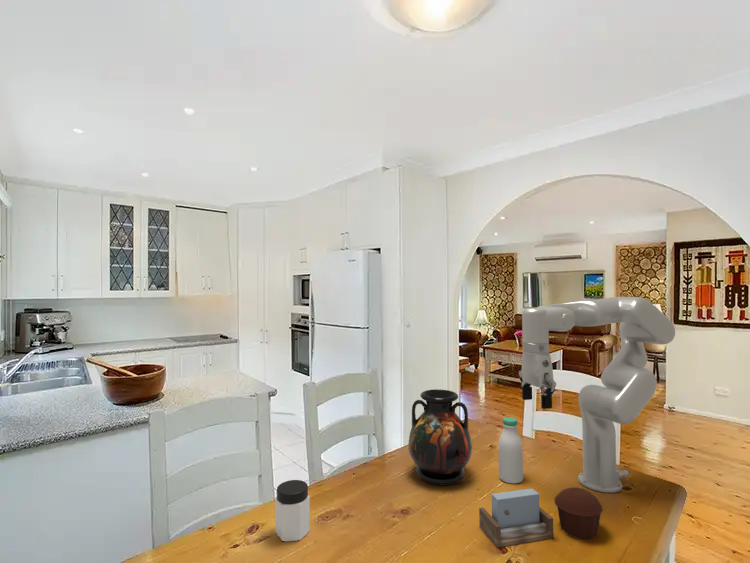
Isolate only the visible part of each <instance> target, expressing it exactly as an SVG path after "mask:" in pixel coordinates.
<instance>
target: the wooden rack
mask: <svg viewBox="0 0 750 563" xmlns="http://www.w3.org/2000/svg"><path fill="white" fill-rule="evenodd" d="M478 511H479V514H478V515H479V518H478V520H479V528H480V530H481V531H483V533H484V535H486V537H487V538H488V539H489V540H490V541H491V542H492V544H493V545H494V546H495V548H503V547H510V546H513V545H514V546H515V545H521V544H527V543H532V542H539V541H544V540H551V539H554V518H553V517H552V516H551V515H550V514H548V512H546V511H545V510H544V509H543V508H542V507H540V506H539V521H540V523H537V524H530V525H524V526H518V527H511V528H505V529H501V526H500V525H499V524H498V523H497V522H496V521H495V520H494V519H493V517H492V514H490V513H489V512H488V511H487V509H486V508H485V507H479V508H478Z"/></svg>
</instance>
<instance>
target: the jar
mask: <svg viewBox="0 0 750 563" xmlns="http://www.w3.org/2000/svg"><path fill="white" fill-rule="evenodd" d="M308 487H309V485H308V483H307V482H306V481H303V480H301V479H293V480H292V479H291V480H287V481H284V482H281V483H280V484H279V485H278V486H277V487H276V497H275V498H274V500H275V501H274V502H275V506H274V507H275V508H274V510H275V516H274V517H275V520H274V521H275V523H274V524H275V526H274V527H275V534H276V533H277V534H276V536H277V537H278V536H279V537H280V538H281V539H280V538H279V537H278V538H279V539H280V540H282V541H285V542H298V540H299V541H301V540H302V539H303V538H304V537H305V536H306V535H307V534H308V533H309V532H310V531H311V522H310V520H311V518H310V517H311V513H310V512H311V511H310V510H311V507H310V506H311V504H310V499H311V497H310V494H309V489H308ZM282 541H281V542H282Z"/></svg>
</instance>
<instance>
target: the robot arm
mask: <svg viewBox="0 0 750 563" xmlns="http://www.w3.org/2000/svg"><path fill="white" fill-rule="evenodd" d="M521 313H522V314H521V318H522V319H521V326H522V327H521V329H522V330H521V331H522V358H521V370H519V371H518V375H519V381H520V382H521V383H520V385H521V387H522V388H521V390H522V392H521V393H522V394H521V395H522V400H523V401H527V400H528V401H532V400H533V386H534V387H536V388H539V389H540V391H541V394H542V395H540V397H541V401H540V402H541V405H540V407H541V409H543V410H547V409H549V410H550V409H553V395H554V393H555V391H556V386H557V382H556V381H555V380H554V370H553V363H552V358H551V354H550V347H549V346H550V343H549V342H550V338H549V336H550V335H549V332H550V331H551V332H552V331H553V332H561V333H562V332H567V331H570V330H571V329H572V328H574V326H575V327H599V326H603V325H609V324H617V323H619V330H618V331H619V336H620V342H621V344H620V350H619V351H618V353H617V354H616V355H615V356H614V358H613V359H612V360H611V361H610V363H609V364H608V365H607V366H606V367H605V368H604V370H603V372H602V373H601V375H600V376H601V377H600V380H601V383H602V384H603V386H602V385H599V384H589V385H585V386H583V387H582V388H581V389H580V391H579V393H578V405H579V409H580V414H581V422H582V426H581V427H582V471H583V472H579V474H578V475H577V481H578V482H579V483H580V484H581V485H582V486H584V487H585V488H588V489H590V490H593V491H597V492H599V493H609V494H612V493H618V492H620V491H622V490H623V483H622V481H621V480H620V479H622V478H625V477H627V478H628V477H629V476H630V473H629V471H628V470H627V469H624V470H620V469H619V468H617V447H616V446H617V443H616V442H617V436H616V435H617V432H616V427H615V423H616V424H619V425H628V424H630V423H632V422H634V421H635V419H637V417H638V416H639V415H640V414H641V413H642V411H643V409H644V408H645V407H646V406H647V404H649V402H650V401H651V399H652V398H653V396H654V395H655V393H656V390H657V383H658V382H657V378H656V376H655V374H654V373H653V372H652V371H651V370H649V369H648V368H645V367H646V365H647V364H648V354H647V352H646V349H645V345H644V343H646V344H653V345H667V344H670V343H672V342H673V340H674V339H675V337H676V329H675V325H674V324H673V322H672V321H671V319H670V318H668V317H667V316H666V315H665V314H664V313H663V312H662V311H661V310H660V309H659V308H658V307H656V305H655V304H653V303H652V302H651V301H649V300H647V299H646V298H643V297H641V296H612V297H606V298H605V297H604V298H598V299H596V298H595V299H589V300H579V301H573V302H563V303H553V304H545V305H539V306H537V307H528V308H524V309H523V310H522V312H521Z"/></svg>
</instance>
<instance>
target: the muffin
mask: <svg viewBox="0 0 750 563" xmlns="http://www.w3.org/2000/svg"><path fill="white" fill-rule="evenodd" d="M554 504H555V505H556V507H557V511H558V512H557V513H558V518H559V525H560V530H562V531H563V532H565V534H567V535H569V536H571V537H575V538H577V539H579V540H585V539H586V540H592V539H594V538H595V537H597V536H598V531H599V526H600V521H601V520H600V519H601V514H602V513H603V510H604V509H603V506H602V504H601V502H600V501H599V499H598V498H597V497H596V496H595V495H594V494H593V493H591V492H590V491H588V490H587V489H584V488H581V487H568V488H564V489H562V490H561V491H560V492H558V494H557V495H556V496H555V497H554ZM594 536H595V537H594Z"/></svg>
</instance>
